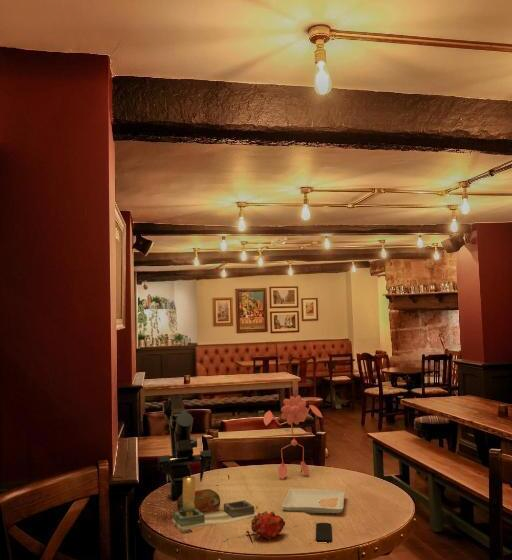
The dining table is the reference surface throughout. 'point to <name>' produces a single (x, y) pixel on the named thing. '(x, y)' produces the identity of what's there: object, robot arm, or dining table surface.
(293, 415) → the pink flower figurine
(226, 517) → the dock board
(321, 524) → the remote control
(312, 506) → the salad plate
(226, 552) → the dining table surface
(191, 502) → the brass peg
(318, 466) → the dining table surface
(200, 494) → the brown flat oval piece
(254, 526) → the dragon fruit
